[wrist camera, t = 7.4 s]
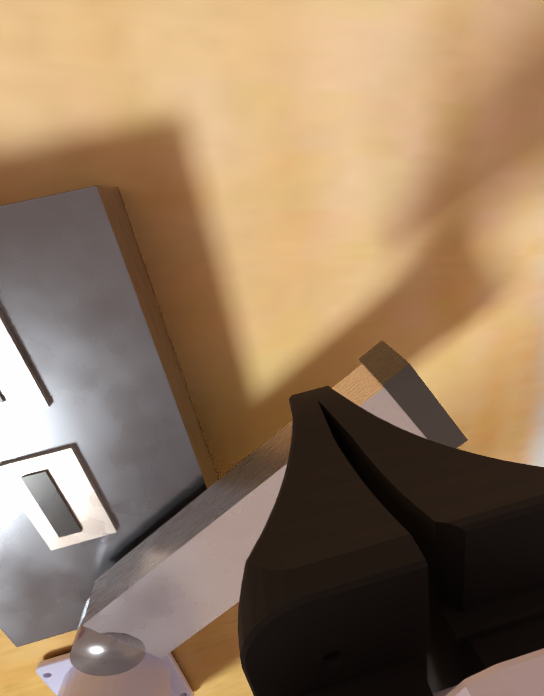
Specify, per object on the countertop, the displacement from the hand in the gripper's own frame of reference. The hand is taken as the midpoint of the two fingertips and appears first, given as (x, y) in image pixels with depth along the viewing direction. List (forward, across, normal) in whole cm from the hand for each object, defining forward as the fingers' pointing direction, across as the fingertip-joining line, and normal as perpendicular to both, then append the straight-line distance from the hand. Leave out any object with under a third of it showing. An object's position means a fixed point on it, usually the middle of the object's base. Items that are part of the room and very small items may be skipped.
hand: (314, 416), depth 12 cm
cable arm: (+3, +4, +6) cm, 8 cm away
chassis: (+7, +11, +2) cm, 13 cm away
